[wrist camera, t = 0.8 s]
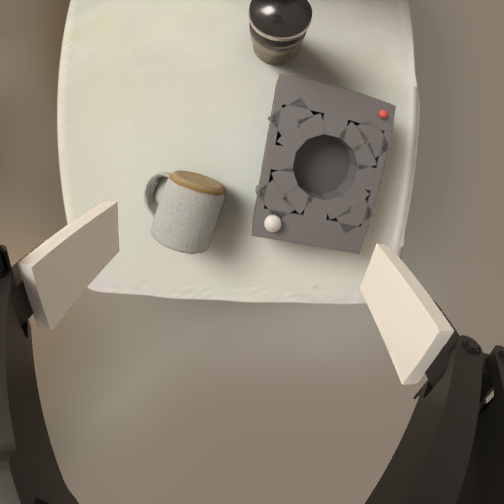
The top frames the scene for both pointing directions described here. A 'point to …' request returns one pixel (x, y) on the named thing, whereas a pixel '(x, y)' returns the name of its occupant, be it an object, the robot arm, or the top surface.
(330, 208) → the box with round hole
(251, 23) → the lens
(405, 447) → the robot arm
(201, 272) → the top surface
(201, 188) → the ceramic mug
